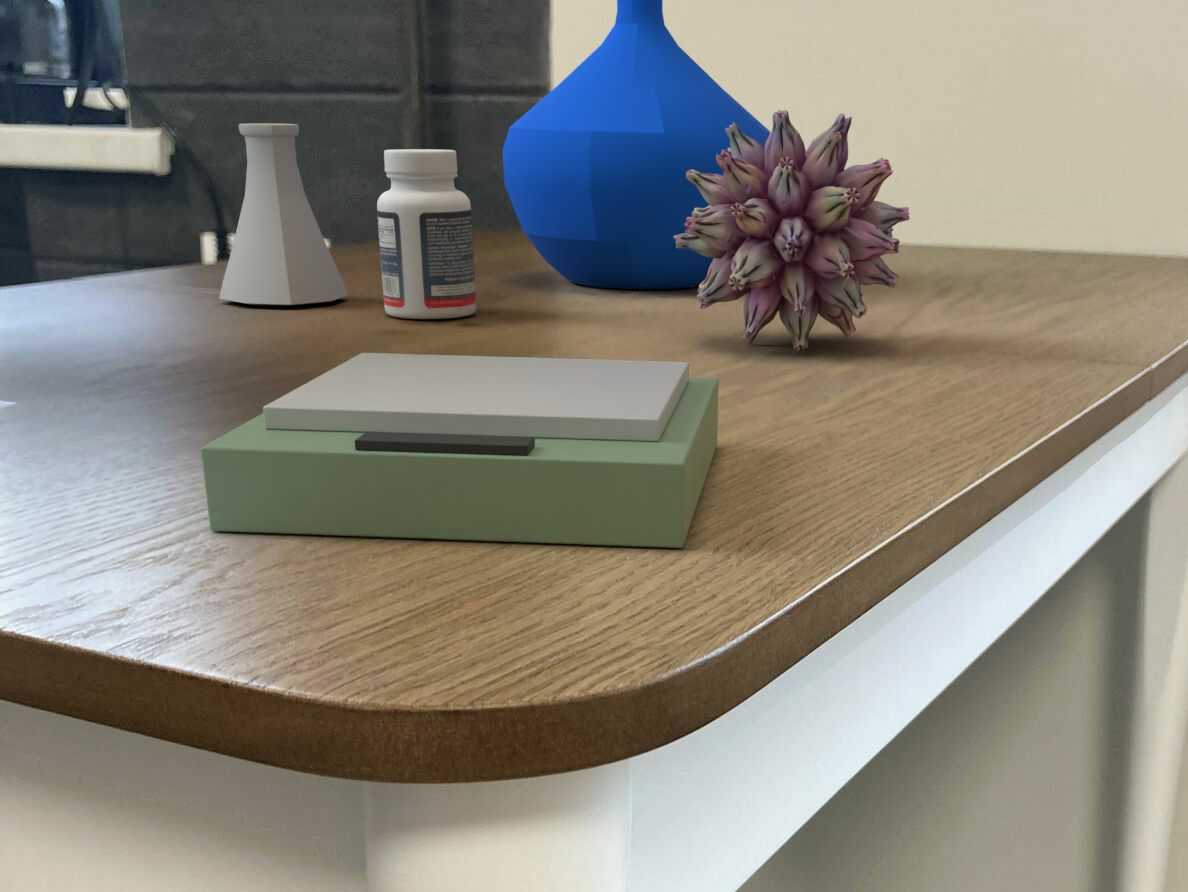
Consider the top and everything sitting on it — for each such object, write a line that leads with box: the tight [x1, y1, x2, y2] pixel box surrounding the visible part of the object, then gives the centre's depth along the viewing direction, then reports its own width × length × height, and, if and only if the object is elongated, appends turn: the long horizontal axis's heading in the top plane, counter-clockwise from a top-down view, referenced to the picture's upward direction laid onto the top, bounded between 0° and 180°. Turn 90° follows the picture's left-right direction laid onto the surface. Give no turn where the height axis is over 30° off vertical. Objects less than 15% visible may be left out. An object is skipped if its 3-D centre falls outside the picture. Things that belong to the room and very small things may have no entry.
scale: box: [200, 352, 719, 549], centre depth 50 cm, size 14×14×3 cm
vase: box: [502, 0, 771, 291], centre depth 101 cm, size 18×18×19 cm
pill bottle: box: [376, 148, 477, 320], centre depth 86 cm, size 5×5×9 cm
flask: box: [218, 122, 349, 306], centre depth 90 cm, size 7×7×10 cm
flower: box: [674, 109, 911, 352], centre depth 77 cm, size 12×12×12 cm
